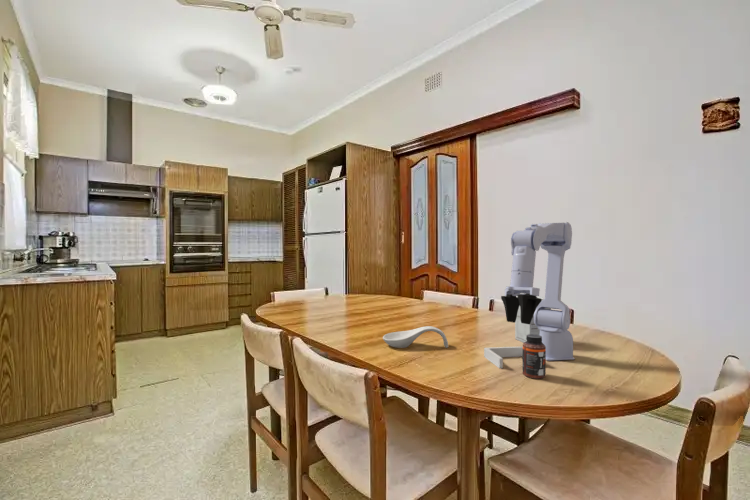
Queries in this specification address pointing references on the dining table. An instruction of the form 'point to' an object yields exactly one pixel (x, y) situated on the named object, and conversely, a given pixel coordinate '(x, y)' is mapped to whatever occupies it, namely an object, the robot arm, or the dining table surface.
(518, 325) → the supplement box
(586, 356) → the dining table surface
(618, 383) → the dining table surface
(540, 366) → the supplement bottle
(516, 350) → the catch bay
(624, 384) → the dining table surface
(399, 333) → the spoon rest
